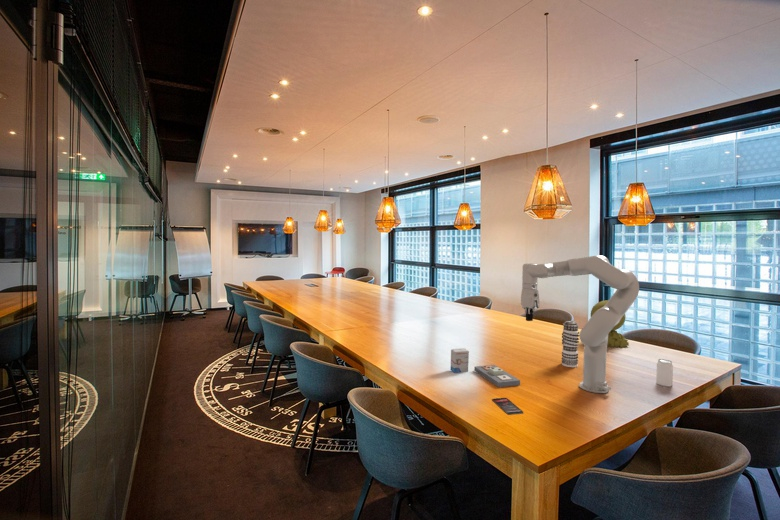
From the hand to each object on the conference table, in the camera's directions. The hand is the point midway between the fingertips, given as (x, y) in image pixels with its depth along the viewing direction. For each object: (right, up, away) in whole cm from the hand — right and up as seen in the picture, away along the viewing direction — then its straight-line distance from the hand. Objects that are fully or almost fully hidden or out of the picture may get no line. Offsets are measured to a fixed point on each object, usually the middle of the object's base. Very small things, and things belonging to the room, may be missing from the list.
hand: (529, 320), depth 202 cm
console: (-20, -29, -6) cm, 35 cm away
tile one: (-17, -29, -14) cm, 36 cm away
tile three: (-22, -28, +1) cm, 35 cm away
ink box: (-37, -28, +3) cm, 47 cm away
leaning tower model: (+29, -28, +14) cm, 43 cm away
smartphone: (-24, -31, -40) cm, 56 cm away
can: (+62, -30, -15) cm, 70 cm away
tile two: (-20, -27, -6) cm, 34 cm away
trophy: (+77, -26, +62) cm, 102 cm away
